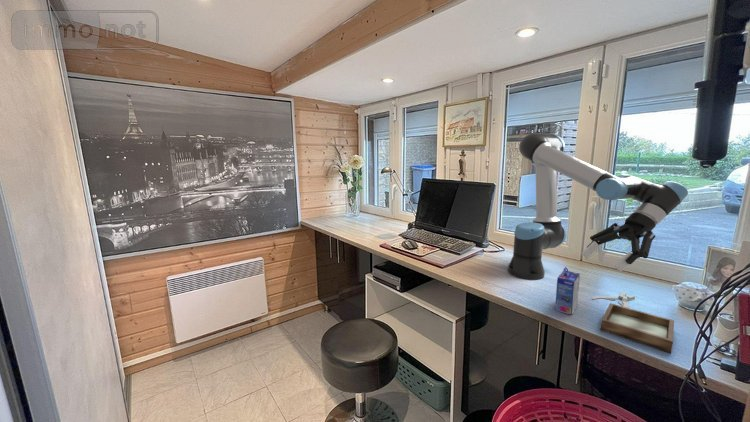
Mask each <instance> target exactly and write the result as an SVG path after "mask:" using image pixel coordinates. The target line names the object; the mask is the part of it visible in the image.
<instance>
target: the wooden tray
mask: <svg viewBox="0 0 750 422" xmlns="http://www.w3.org/2000/svg"><path fill="white" fill-rule="evenodd" d="M599 327H600V328H599V330H600V331H601V332H605V333H608V334H611V335H614V336H617V337H620V338H623V339H626V340H629V341H632V342H635V343H638V344H641V345H644V346H647V347H650V348H653V349H656V350H658V351H659V350H660V351H662V352H665V353H668V354H672V349H673V345H674V344H673V343H674V333H675V319H674V320H673V319H670V318H666V317H662V316H659V315H655V314H652V313H648V312H644V311H641V310H637V309H634V308H631V307H630V308H629V307H628V308H627V307H623V306H622V305H620V304H616V303H611V302H609V304H608V307H607V308H606V310H605V312H604V314H603V316H602V318H601V320H600V326H599Z"/></svg>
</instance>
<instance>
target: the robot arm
mask: <svg viewBox="0 0 750 422" xmlns="http://www.w3.org/2000/svg"><path fill="white" fill-rule="evenodd" d="M518 149H519V153H520V155H522V157H523V158H524V159H527V160H528V161H531V165H532V166H534V168H535V201H536V202H535V203H536V204H535V205H536V206H535V207H536V209H535V211H536V217H535V218H534V219H532V221H531V222H521V223H518V224H517V225H516V226H515V230H514V234H513V235H514V238H513V239H514V242H513V255H512V258H511V259H510V262H509V264H508V267H507V272H508V273H509V274H510V275H512V276H514V277H516V278H521V279H524V280H541V279H544V278H545V269H544V264H543V262H542V256H543V250H547V249H554V248H557V247H559V246H561V245H562V244H564V242H565V241H566V239H567V231H566V228H565V227H564V226H563V224H562V219H560V218H559V217H558V188H557V187H558V186H557V185H558V184H557V182H558V181H557V178H558V177H557V175H558V174H557V172H558V173H559V174H562V175H563V176H566V177H567V178H569V179H570V180H573V181H575V182H577V183H579V184H581V185H583V186H584V187H587V188H588V189H590V190H592V191H595V192H596V194H597V196H598V197H599V198H601V199H603V200H605V201H618V200H622V199H623V200H624V199H632V200H635V201H637V202H640V203H641V204H640V205H639V206H637V208H636V209H635V210H634V211H633V212H632V213H631V214H630V215H629V216H628V217H627V218H625V220H624V223H623V224H622V225H619V224H618V223H616V222H615V223H613V224H611V225H610V226H609V227H606V228H605V229H603V230H600V231H599V232H596V233H595V234H593V235H591V236H589V239H590V240H591V242H590V243H589V244H588V245H587V246H586V248H585V249H584V250H583V251H582V252H581V255H582V256H583V257H584V258H585V259H589V258H590V257H591V255H592V254H594V252H596V251H597V249H599V248H600V245H602V244H606V243H608V242H612V241H615V240H621V239H622V240H627V241H629V242H630V244H631V250H630V251H628V252H627V253H626V254H625V255H624V256H623V257H622V258H621V259H619V260H618V261H617V262H616V263H615V264H614V265H613V267H615V269H616V270H617V271H618V272H620V273H621V272H622V271H624V269H626V268H627V266H629V265H632V264H633V263H634V262H635V261H637V259H640V258H642V259H648V257H649V255H650V250H651V246H652V244H653V243H652V242H653V241H654V240H655V238H656V235H655V233H654V232H653V230H654V229H655V228H656V226H657V225H659V223H661V222H662V220H664V219H665V218H666V217H667V216H668V215H669V214H670V213H671V212H672V211H673V210H674V209H676V208H677V207H678V206H679V205H680V204H682V203H681V202H683V201H684V199H686V197H687V196H688V194H689V191H688V188H687V187H686V186H685V185H683V183H682V184H681V183H680V182H676V181H669V180H668V181H665V182H663V183H661V184H659V183H658V184H657V183H653V182H651V181H648V180H645V179H643V178H639V177H637V176H635V175H632V174H627V173H620V174H619V175H614V174H612V173H609V172H608V171H605V170H603V169H601V168H599V167H597V166H594V165H593V164H590V163H588V162H586V161H584V160H581V159H580V158H577V157H575V156H573V155H571V154H569V153H566V152H565V150H566V143H565V141H564V139H563V137H561V136H559V135H558V134H554V133H542V132H541V133H539V132H531V133H529V134H527V135H525V136H524V137H522V139H521V140H520V142H519V146H518ZM640 238H642V240H641V245H640Z"/></svg>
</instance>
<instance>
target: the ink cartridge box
mask: <svg viewBox="0 0 750 422" xmlns="http://www.w3.org/2000/svg"><path fill="white" fill-rule="evenodd" d="M580 279H581V274H580V272H579V273H578V272H574V271H570V270H569V269H568V268H567V266H565V267H564V268H563V271H562V272H561V273H560V274H559V275H558V277H557V279H556V291H555V309H554V310H555V311H557V312H560V313H563V314H567V315H570V316H572V315H573V314H574V312H575V311H576V308H577V306H578V302H579V301H578V300H579V290H580Z"/></svg>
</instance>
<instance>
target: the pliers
mask: <svg viewBox="0 0 750 422" xmlns="http://www.w3.org/2000/svg"><path fill="white" fill-rule="evenodd" d="M600 299H602V300H603V299H604V300H608V301H615V302H616V300H618V305H619V306H623V307H627V308H629V305H630V304H629V303H628V302H629V301H633V300H636V296H635V295H628V296H627V293H626V292H623V293H622V292H621V293H620V294H619V295H618V296H610V295H609V296H608V295H600V296H599V295H598V296H597V295H596V296H594V297H592V298H591V300H600ZM620 301H621V302H620Z"/></svg>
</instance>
